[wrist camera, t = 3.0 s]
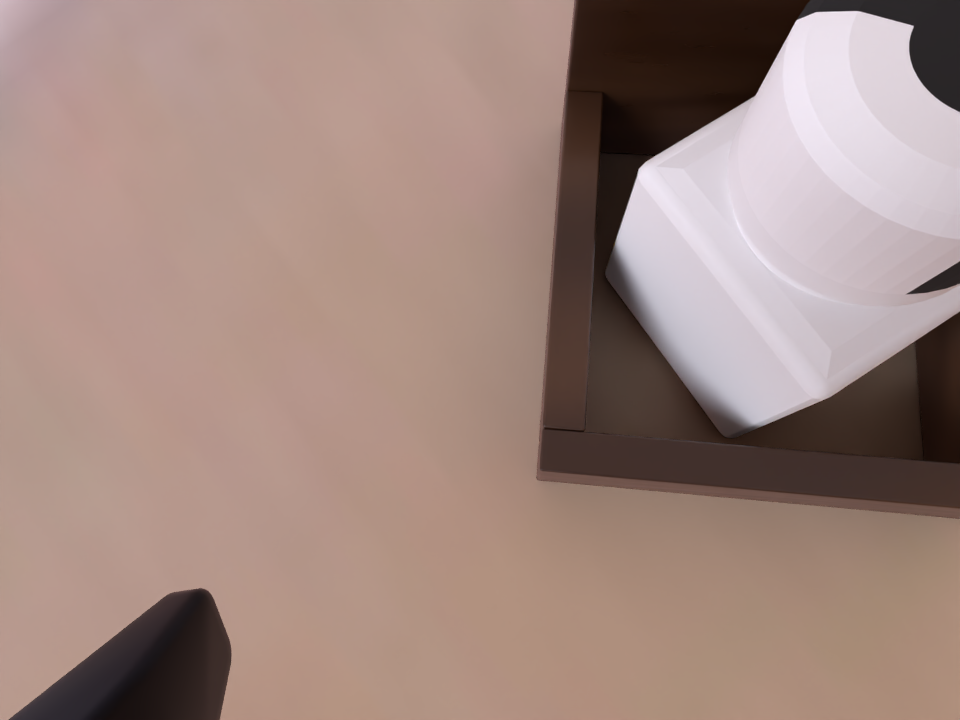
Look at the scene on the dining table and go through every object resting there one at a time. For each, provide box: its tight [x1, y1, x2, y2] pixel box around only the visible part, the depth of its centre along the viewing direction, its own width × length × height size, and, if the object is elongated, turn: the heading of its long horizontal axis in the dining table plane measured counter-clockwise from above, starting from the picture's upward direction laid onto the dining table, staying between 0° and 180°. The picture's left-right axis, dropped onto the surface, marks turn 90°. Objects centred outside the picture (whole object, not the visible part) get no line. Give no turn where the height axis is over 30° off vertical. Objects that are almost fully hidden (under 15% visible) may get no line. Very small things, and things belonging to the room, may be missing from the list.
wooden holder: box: [536, 0, 960, 519], centre depth 19 cm, size 13×13×8 cm
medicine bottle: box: [605, 0, 960, 438], centre depth 17 cm, size 7×7×12 cm
